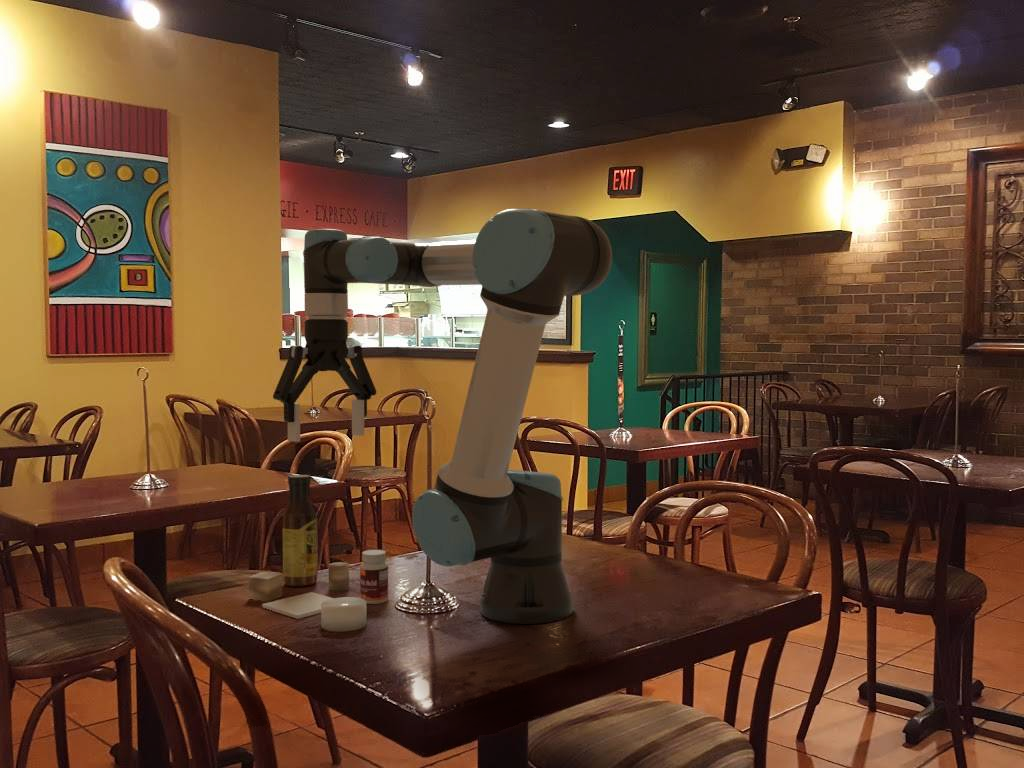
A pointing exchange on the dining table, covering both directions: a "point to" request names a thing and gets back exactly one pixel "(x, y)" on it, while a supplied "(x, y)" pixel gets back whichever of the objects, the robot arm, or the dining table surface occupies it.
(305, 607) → the tile
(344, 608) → the white squat cylinder
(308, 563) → the sauce bottle
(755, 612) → the dining table surface
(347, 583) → the cork
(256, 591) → the beech block
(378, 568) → the pill bottle
